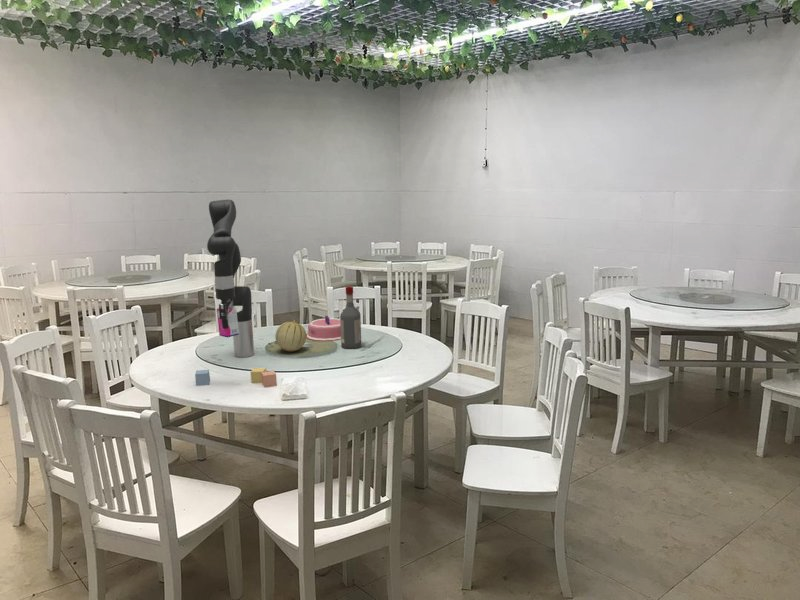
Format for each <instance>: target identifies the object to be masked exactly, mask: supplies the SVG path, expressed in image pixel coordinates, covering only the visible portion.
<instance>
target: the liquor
mask: <svg viewBox="0 0 800 600" xmlns="http://www.w3.org/2000/svg"><path fill="white" fill-rule="evenodd" d="M345 295H346V299H345V300H346V305H345V307H344V309H343V310H342V312H341V313H340V314H339V315H340V316H339V319H340V324H341V340H340V343H341V348H342V349H344V350H356V349H359V348H361V346H362V323H361V321H362V320H361V318H362V317H361V313H360V311H359V309H357V308H356V306H355V304H354V296H353V295H354V286H346V287H345Z"/></svg>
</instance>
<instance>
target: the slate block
mask: <svg viewBox="0 0 800 600" xmlns="http://www.w3.org/2000/svg"><path fill="white" fill-rule="evenodd" d="M194 376H195V377H194V379H195V385H196V387H198V385H199V386H208V385H210V382H211V379H210V378H211V377H210V369H201V370H200V369H199V370H196V371H195V374H194Z"/></svg>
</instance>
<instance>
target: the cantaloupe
mask: <svg viewBox="0 0 800 600" xmlns="http://www.w3.org/2000/svg"><path fill="white" fill-rule="evenodd" d="M306 334H307V331H306V329H305V327H303V325H302V324H300V323H298V322H296V320H295V319H293V321H285V322H283V323H281V324H280V325H279V326H278V327H277V329H276V331H275V334H274V335H275V338H274V339H275V342H276V344H277V346H278V347H279V348H280V349H281V350H283V351H285V352H287V353H288V352H296V351H298V350H301V348H303V346H304V345H305V343H306V340H307V339H306Z"/></svg>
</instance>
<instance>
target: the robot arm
mask: <svg viewBox="0 0 800 600" xmlns="http://www.w3.org/2000/svg"><path fill="white" fill-rule="evenodd" d="M208 210H209V216H210V217H209V218H210V219H211V223H212V227H213V233H212V234H211V236H210V237H209V238H208V239H207V240H208V241H207V244H206V248H207V251H208V253H209V254H211V255H213V256H219V257H218V258H219V260H216V261H215V262H214V263H213V269H214V270H213V271H214V290H215V299H216V300H220V303H219V304H218V308H219V313H220V319H221V320H222V327H223V329H227V328H228V314H229V313H230V307H241V306H242V307H241V310H240V311H237V321H238V330H239V335H235V336H232V339H233V351H234V353H233V354H234V356H235V358H247V357H252V356H255V343H254V330H253V328H254V327H253V315H252V314H253V313H252V312H253V309H252V307H253V306H252V302H253V301H252V291H251V288H250V287H249V286H248V285H247V286H246V285H244V286H243V285H242V286H239V285H238V286H236V285H235V276H236V273H237V272H238V270H239V267H240V266H241V262H242V257H241V251H240V247H239V245H238V244H237V243H236V241H235V238H233V237H232V229H233V226H234V224H235V221H236V218H237V208H236V205H235V202H234V201H233V200H232V199H221V200H218V199H217V200H213V201H211V200H210V202H209V203H208ZM226 309H228V311H227V312H226ZM223 314H225V316H223Z"/></svg>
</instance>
